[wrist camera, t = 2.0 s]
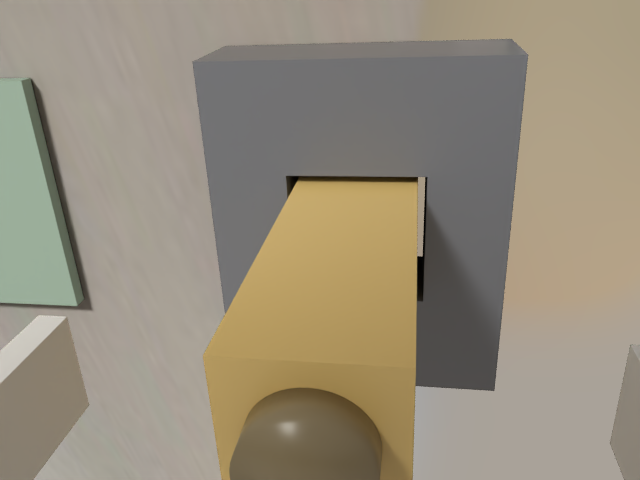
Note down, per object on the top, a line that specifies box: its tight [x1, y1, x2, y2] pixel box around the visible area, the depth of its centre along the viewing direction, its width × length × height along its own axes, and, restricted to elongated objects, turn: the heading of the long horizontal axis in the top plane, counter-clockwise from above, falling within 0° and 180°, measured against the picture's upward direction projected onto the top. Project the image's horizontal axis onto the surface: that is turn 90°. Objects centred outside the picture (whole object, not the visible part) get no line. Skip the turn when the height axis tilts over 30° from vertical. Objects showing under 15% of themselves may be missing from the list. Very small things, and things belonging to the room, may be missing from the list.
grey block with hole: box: [193, 39, 528, 391], centre depth 22 cm, size 12×10×4 cm
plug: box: [203, 176, 418, 480], centre depth 17 cm, size 4×4×14 cm
